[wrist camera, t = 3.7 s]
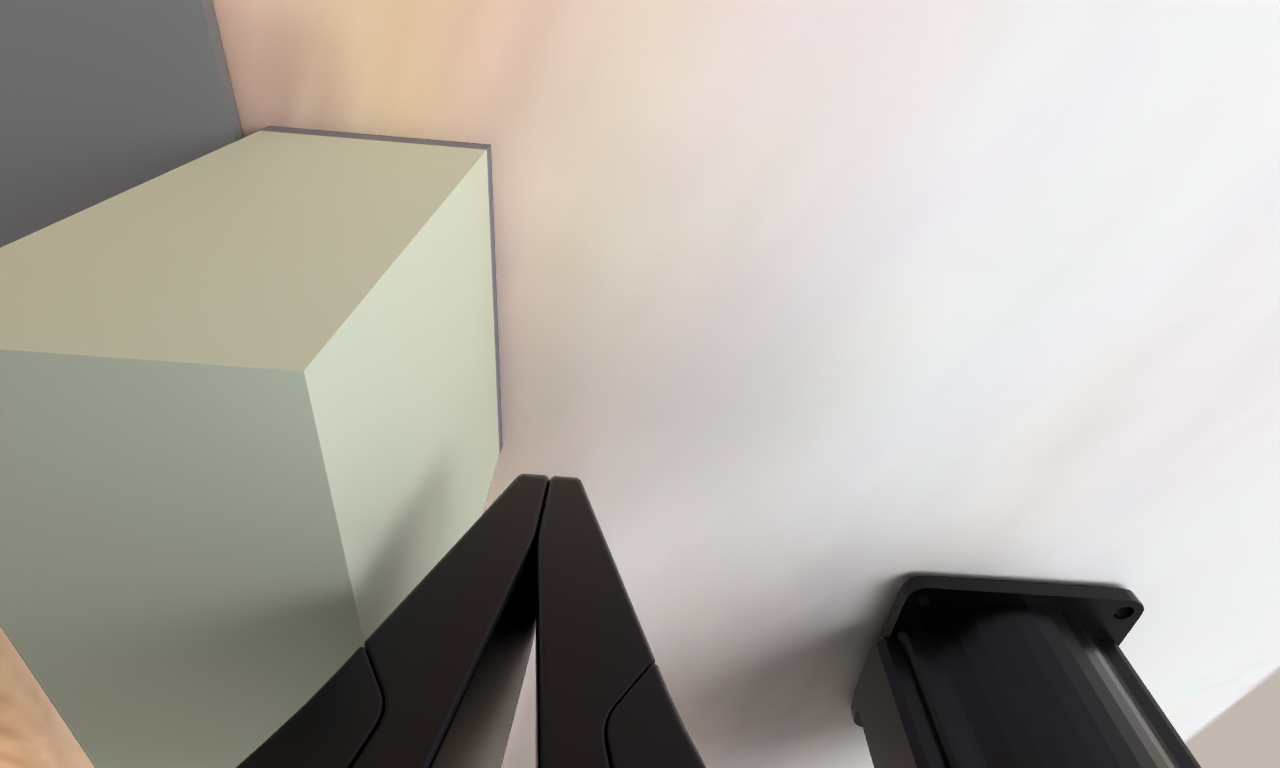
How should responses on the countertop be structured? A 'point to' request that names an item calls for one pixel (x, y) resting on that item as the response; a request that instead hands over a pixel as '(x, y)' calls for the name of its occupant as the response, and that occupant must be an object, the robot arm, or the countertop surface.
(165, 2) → the mat
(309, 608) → the sage block
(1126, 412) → the countertop surface
